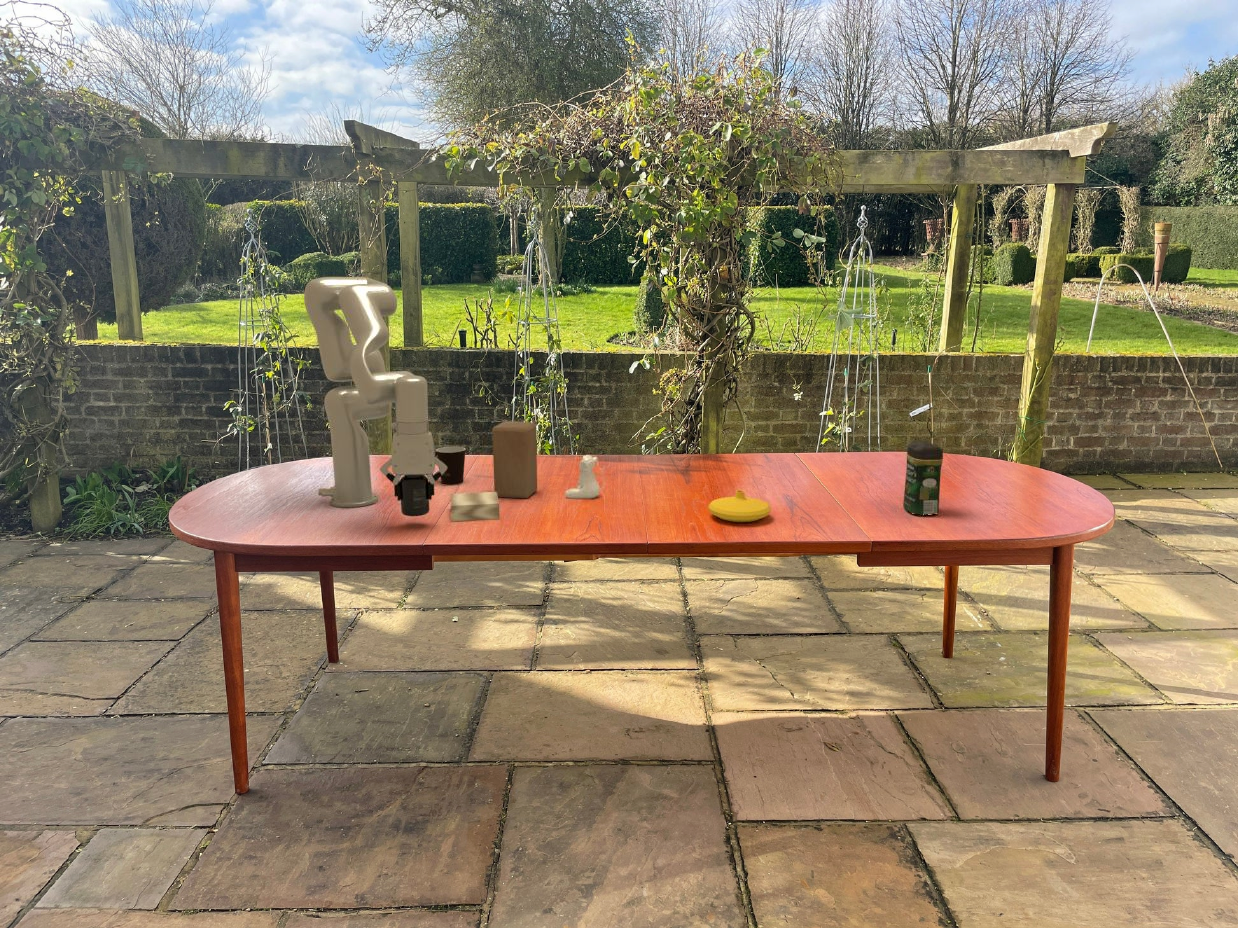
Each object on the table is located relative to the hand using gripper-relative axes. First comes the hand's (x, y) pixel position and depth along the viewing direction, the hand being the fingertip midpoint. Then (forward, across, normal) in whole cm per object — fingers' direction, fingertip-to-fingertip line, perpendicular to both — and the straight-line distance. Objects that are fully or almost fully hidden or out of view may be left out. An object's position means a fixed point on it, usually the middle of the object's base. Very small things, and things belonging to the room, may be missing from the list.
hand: (414, 498), depth 210 cm
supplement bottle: (+4, 0, 0) cm, 4 cm away
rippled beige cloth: (+7, +15, +8) cm, 18 cm away
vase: (+5, +81, -9) cm, 81 cm away
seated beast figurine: (+7, +46, +20) cm, 50 cm away
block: (+8, +27, +26) cm, 38 cm away
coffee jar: (+4, +129, -13) cm, 129 cm away
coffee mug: (+9, +9, +45) cm, 47 cm away
